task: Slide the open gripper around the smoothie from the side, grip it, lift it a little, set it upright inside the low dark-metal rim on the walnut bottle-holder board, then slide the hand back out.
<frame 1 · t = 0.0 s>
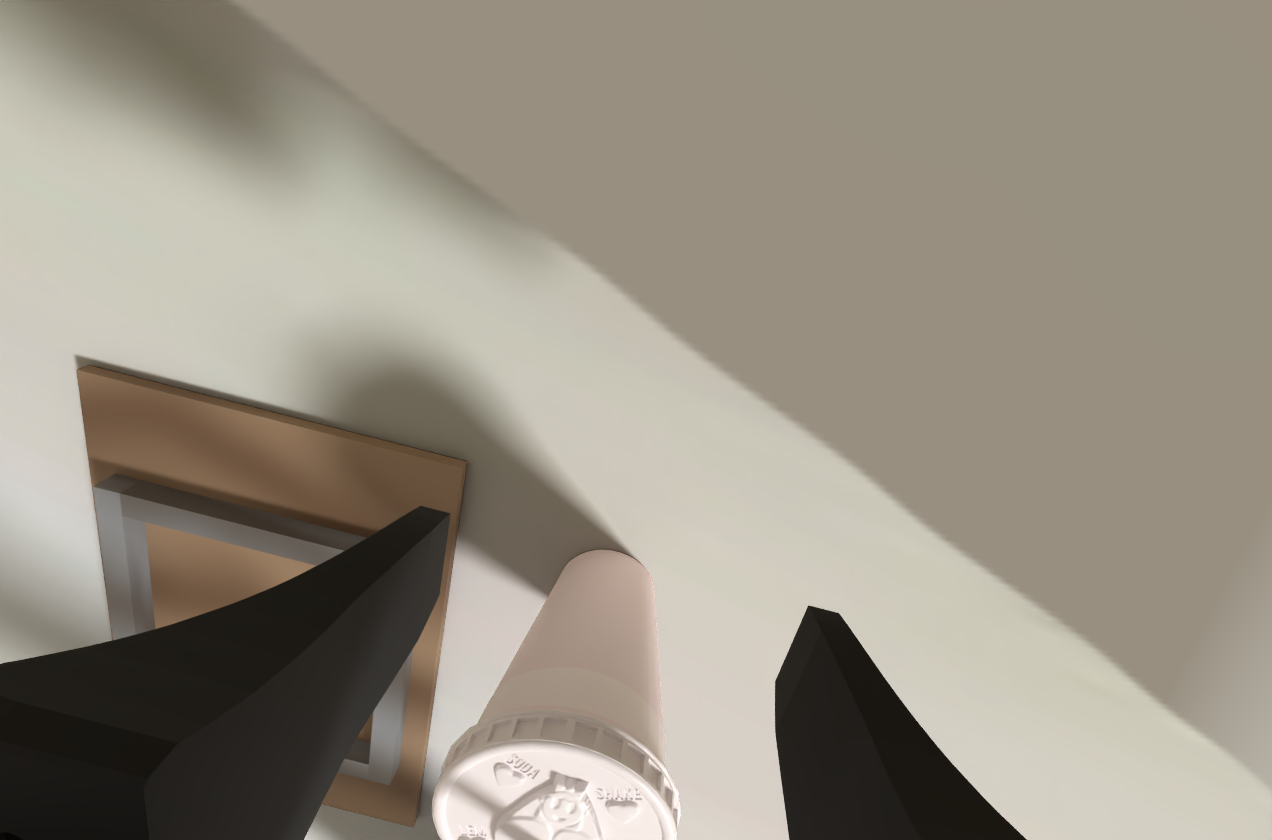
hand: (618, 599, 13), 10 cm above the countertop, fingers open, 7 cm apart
smoothie: (607, 586, 26), on the countertop
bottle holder: (277, 624, 28), on the countertop
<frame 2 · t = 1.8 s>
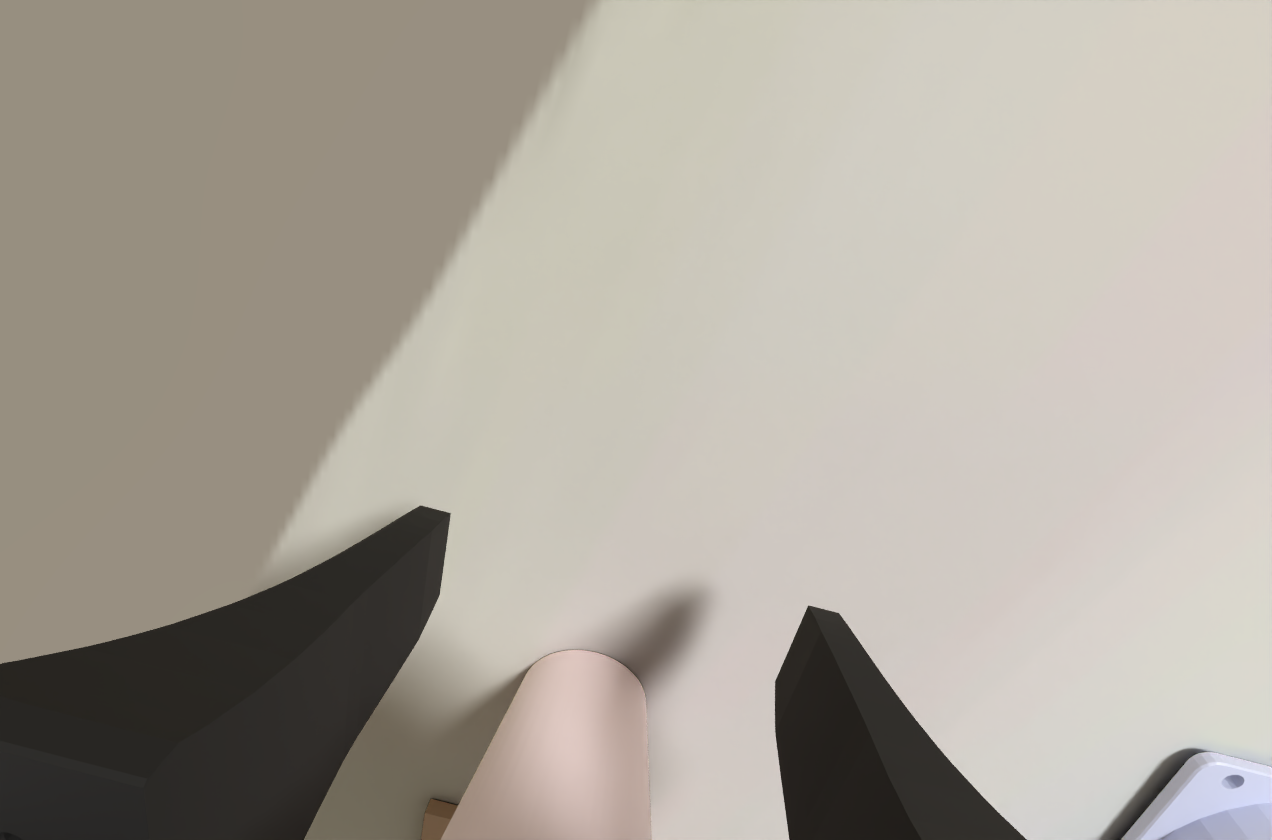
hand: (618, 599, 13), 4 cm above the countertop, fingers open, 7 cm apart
smoothie: (584, 693, 20), on the countertop
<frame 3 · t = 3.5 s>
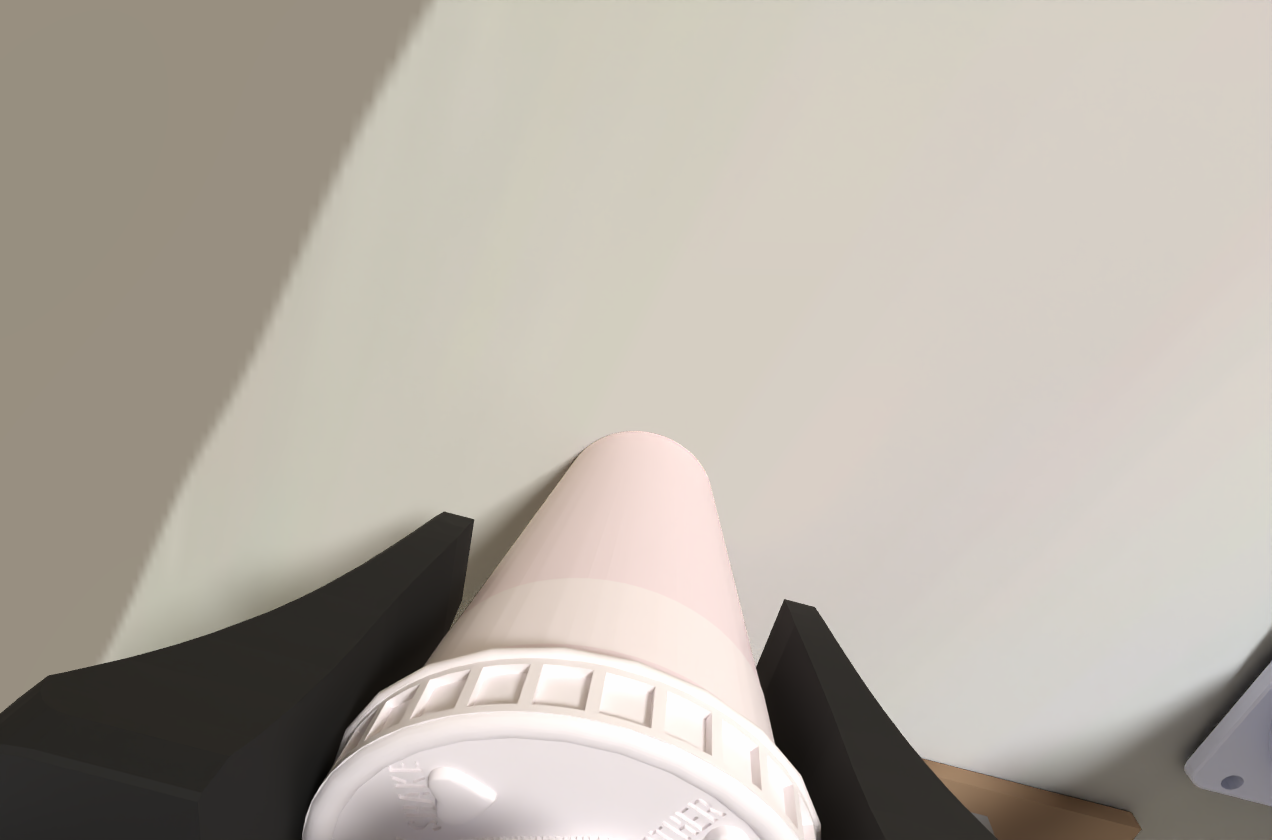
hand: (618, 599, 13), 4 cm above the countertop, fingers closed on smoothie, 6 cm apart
smoothie: (638, 494, 17), on the countertop, touching gripper
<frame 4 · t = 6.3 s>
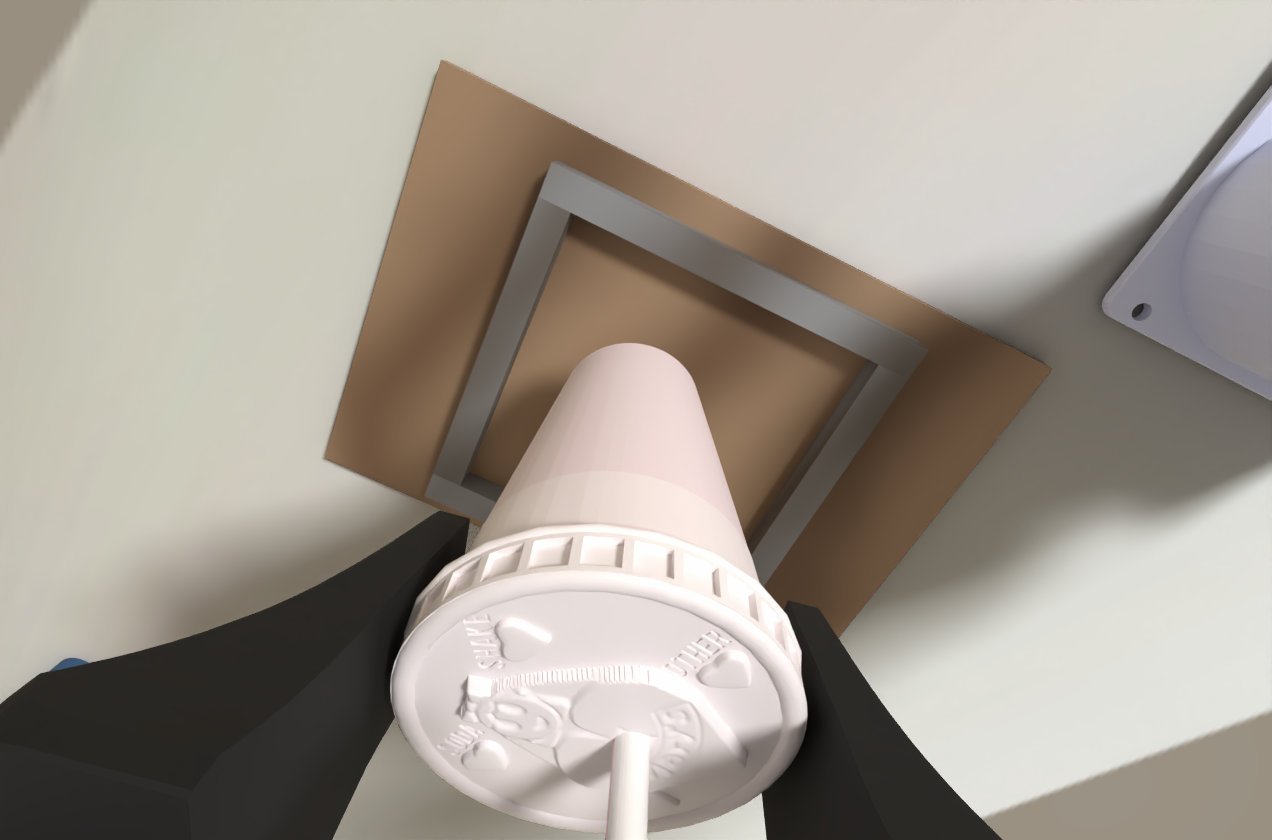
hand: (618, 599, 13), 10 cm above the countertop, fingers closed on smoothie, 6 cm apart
smoothie: (631, 400, 18), point 4 cm above the countertop, touching gripper
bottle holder: (657, 411, 23), on the countertop
when the fingers open (6 cm above the countertop, at t = 8.0 s): smoothie stays where it is, resting on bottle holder.
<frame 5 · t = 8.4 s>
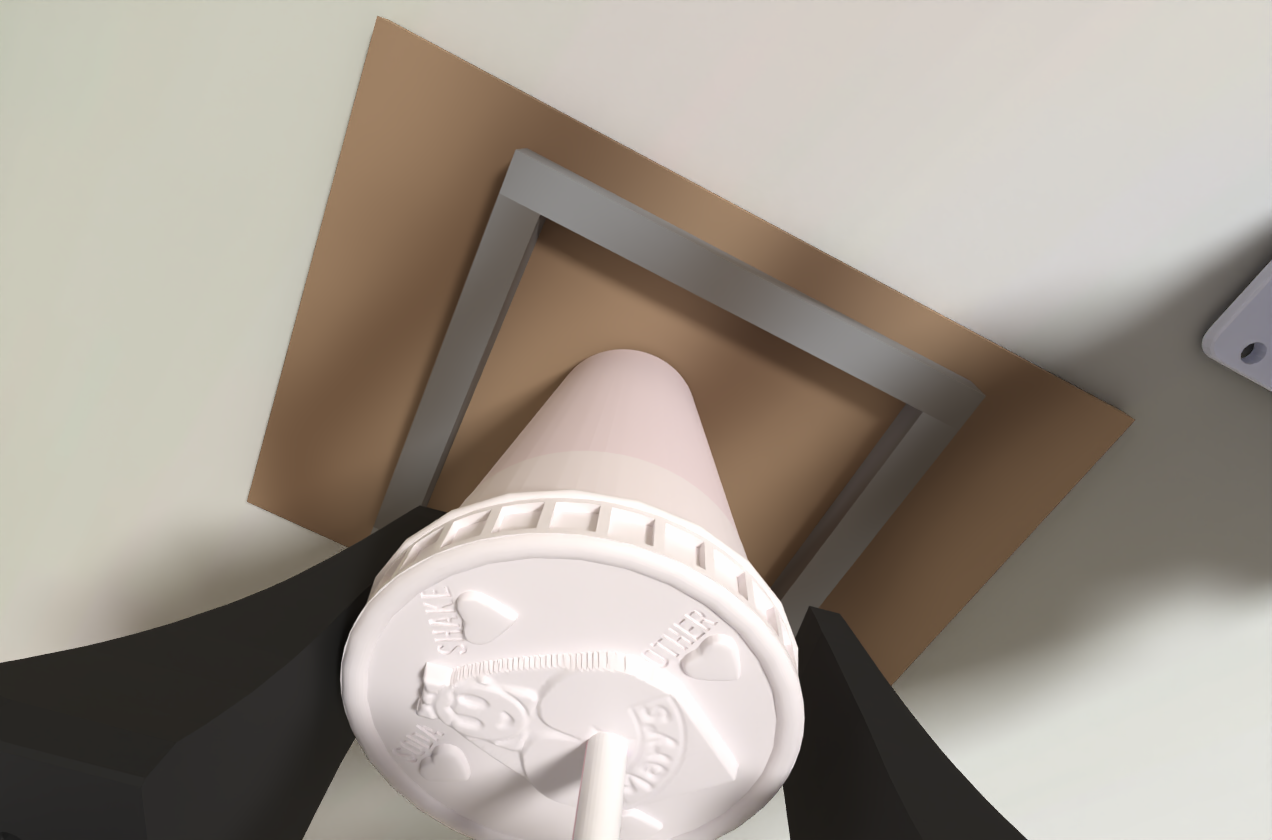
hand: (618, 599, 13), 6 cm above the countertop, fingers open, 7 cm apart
smoothie: (625, 411, 18), resting on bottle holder, touching gripper
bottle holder: (646, 456, 19), on the countertop
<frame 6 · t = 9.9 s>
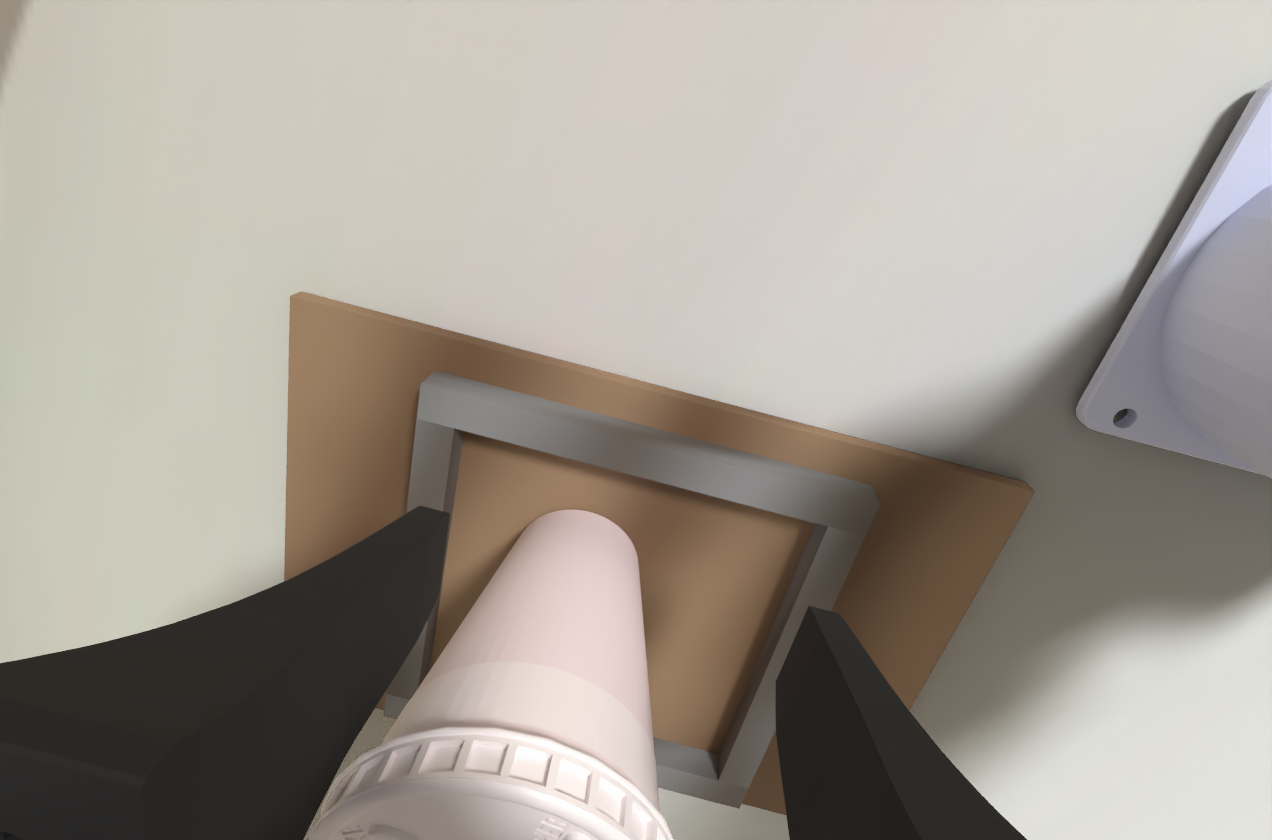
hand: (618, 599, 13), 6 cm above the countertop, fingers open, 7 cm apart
smoothie: (577, 559, 20), resting on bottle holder, touching gripper
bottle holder: (607, 590, 21), on the countertop
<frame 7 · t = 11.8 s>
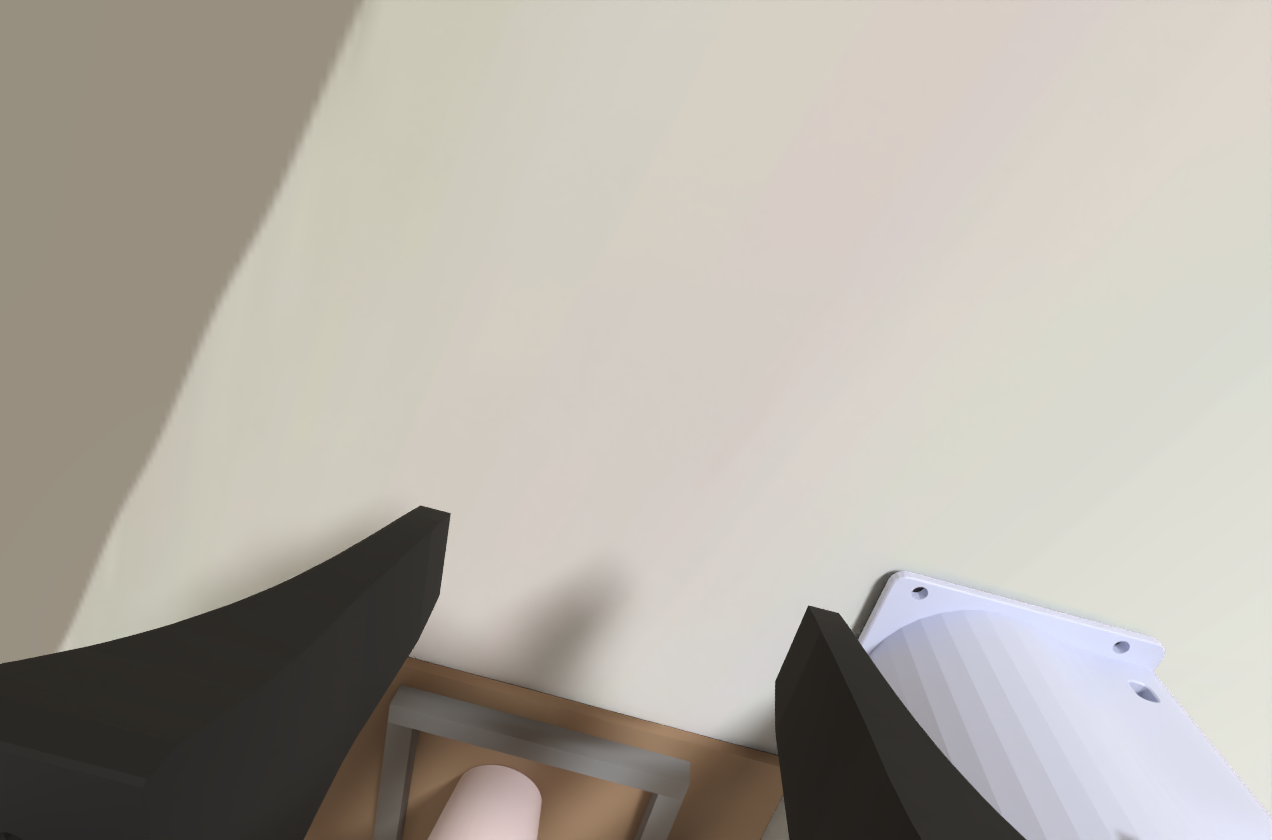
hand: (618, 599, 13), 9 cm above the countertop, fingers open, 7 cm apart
smoothie: (500, 790, 29), resting on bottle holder
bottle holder: (523, 807, 30), on the countertop
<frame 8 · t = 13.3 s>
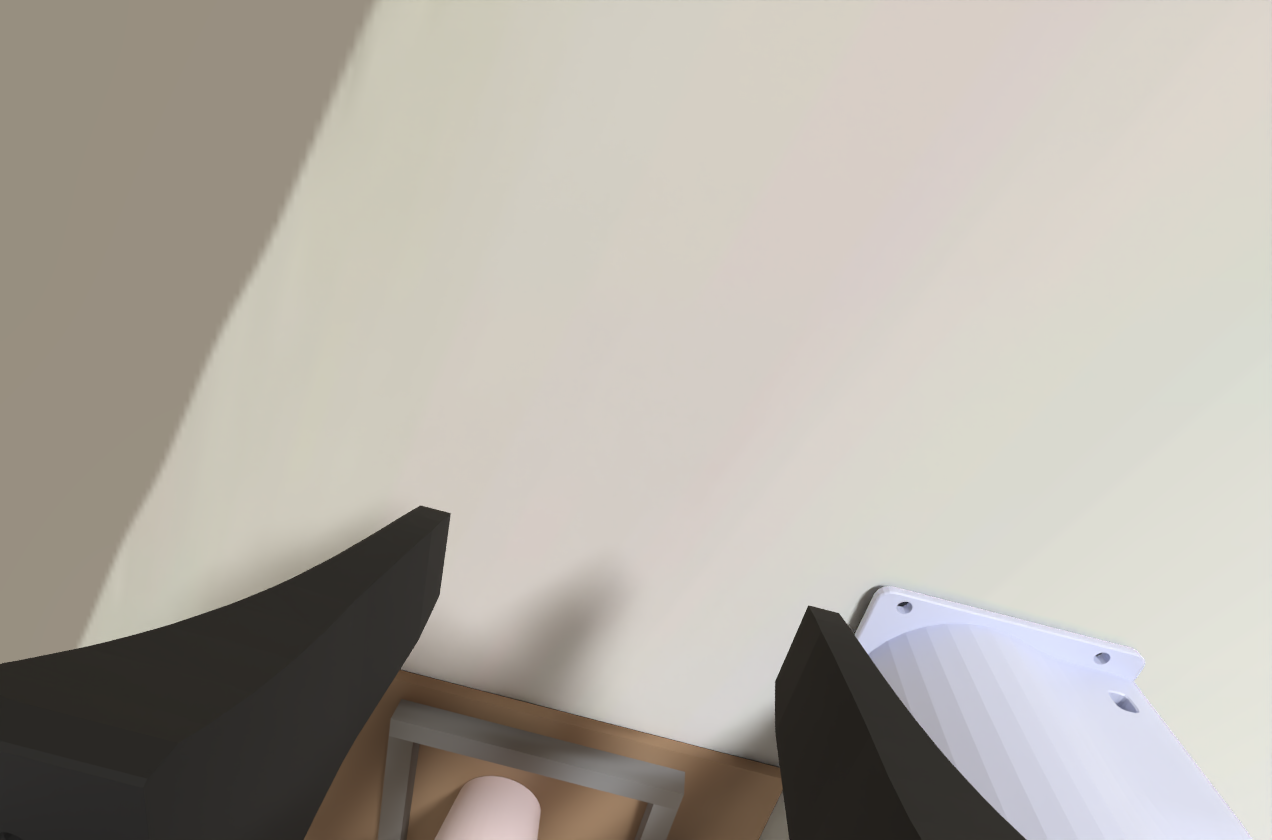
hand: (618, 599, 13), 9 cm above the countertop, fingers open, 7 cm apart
smoothie: (500, 801, 30), resting on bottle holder
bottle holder: (523, 817, 30), on the countertop
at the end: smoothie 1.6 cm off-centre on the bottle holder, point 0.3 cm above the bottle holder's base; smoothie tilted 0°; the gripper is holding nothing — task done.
